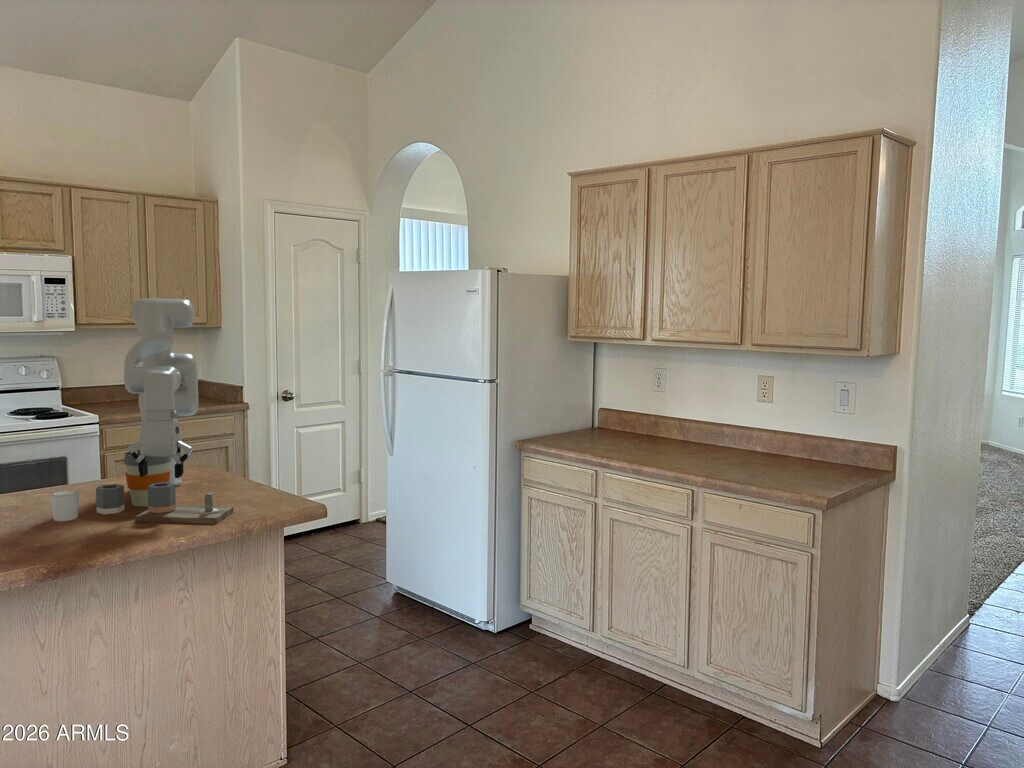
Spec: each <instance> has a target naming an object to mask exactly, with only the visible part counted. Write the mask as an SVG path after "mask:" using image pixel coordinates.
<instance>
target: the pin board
mask: <svg viewBox="0 0 1024 768" xmlns="http://www.w3.org/2000/svg"><path fill="white" fill-rule="evenodd" d="M213 494H214V493H207V492H206V493H204V505H176V509H174V510H172V511H170V512H163V513H153V512H149V511H148V509H147V510H146V509H145V510H144V511H143V512H141V513H139V514H137V515H135V516H134V521H135V523H170V524H171V523H172V524H174V523H175V524H208V525H209V524H211V525H212V524H214V525H215V524H218V523H220V522H221V521H223V520H224V519H225V518H227V517H228V516H230V515H232V513H234V506H220V505H218V506H214V500H213V499H214V498H213V496H214V495H213Z"/></svg>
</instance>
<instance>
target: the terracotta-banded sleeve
mask: <svg viewBox="0 0 1024 768" xmlns="http://www.w3.org/2000/svg"><path fill="white" fill-rule="evenodd" d="M147 488H148V506H147V510H148V511H149V512H153V513H163V512H170V511H172V510H174V509H176V504H177V503H176V502H177V501H176V486H175V484H174V483H169V482H163V483H153V484H151V485H149V486H147Z"/></svg>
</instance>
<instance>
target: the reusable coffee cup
mask: <svg viewBox="0 0 1024 768" xmlns="http://www.w3.org/2000/svg"><path fill="white" fill-rule="evenodd" d="M136 450H137V451H138V452H139V453H140V449H136ZM123 458H124V459H123V464H124V465H125V470H126V472H124V473H125V479H126V485H127V489H129V494H130V500H131V504H132V506H135V507H148V488H147V486H149V485H151V484H153V483H163V482H169V480H170V471H171V470H170V469H169V467H170V461H171V457H149V456H148V457H147V458H146V459H145V460H147V463H148V474H147V475H145V476H143V477H140V473H139V468H138V463H137V462H136V459H135V458H134V457H133V456H132V453H131V452H130V450H129V451H126V452H125V453H124V457H123Z"/></svg>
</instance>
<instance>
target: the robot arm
mask: <svg viewBox="0 0 1024 768" xmlns="http://www.w3.org/2000/svg"><path fill="white" fill-rule="evenodd" d="M130 307H131V309H130V310H131V316H132V320H133V322H134V324H135V327H136V328H137V331H138V333H139V335H140V339H139V341H137V342H136V343H134V344H133V346H131V347H130V349H129V350H128V352H127V353H126V355H125V358H124V363H123V383H124V386H125V390H126V391H127V392H129V393H130V394H139V395H138V406H139V412H140V416H141V417H140V418H141V426H140V432H139V433H140V434H139V440H138V441H136V442H134V443H132V444H130V445H128V446H127V448H128V450H129V451H130V452H131V453H132V456H133V457H134V458H135V459H136V462H137V463H138V468H139V473H140V477H143V476H145V475H147V474H148V463H147V460H145V459H146V458H147V457H148V456H149V457H171V461H170V467H169V469H170V470H171V471H170V480H169V483H174V484H175V487H177V486H180V485H182V483H183V481H182V478H181V477H182V476H183V475H184V463H185V462H186V460H187V459H188V458H190V457H191V456H190V455H191V453H192V452H193V450H194V449H193V447H192V446H190V445H189V444H187V443H185V442H183V440H182V439H183V438H182V431H181V428H180V423H179V420H178V419H176V417H177V418H179V417H189V416H193V415H196V413H197V412H198V410H199V384H198V383H199V380H198V379H199V378H198V377H199V376H198V375H199V374H198V365H197V361H196V360H197V359H196V358H195V357H194V356H193V355H192V354H191V353H184V352H181V353H179V352H175V353H174V352H172V347H173V344H174V334H173V332H174V329H173V328H178V329H179V328H182V329H183V328H184V329H185V328H191V327H193V323H194V321H195V312H194V311H195V310H194V307H193V305H192V302H191V301H190V300H189V299H187V298H163V297H162V298H161V297H157V298H156V297H149V298H148V297H147V298H139V299H136V300H134V301H133V302H132V303H131V306H130ZM141 362H142V366H137V365H138V364H140V363H141ZM181 384H182V386H181ZM138 447H139V450H140V453H139V452H138V451H137V450H138V449H137V448H138ZM183 450H184V453H183V455H182V454H181V453H182V452H183Z"/></svg>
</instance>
